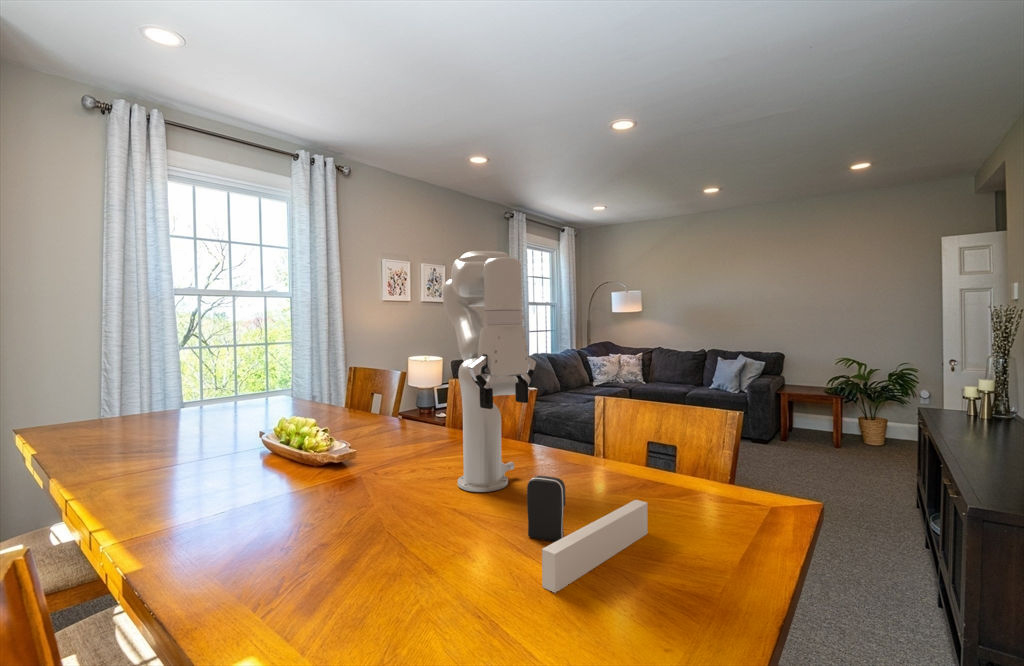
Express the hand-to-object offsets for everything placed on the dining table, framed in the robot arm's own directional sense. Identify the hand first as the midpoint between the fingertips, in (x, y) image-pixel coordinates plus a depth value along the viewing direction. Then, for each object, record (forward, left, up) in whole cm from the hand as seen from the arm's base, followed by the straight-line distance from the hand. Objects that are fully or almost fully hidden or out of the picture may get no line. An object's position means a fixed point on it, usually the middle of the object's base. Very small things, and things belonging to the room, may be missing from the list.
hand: (504, 405), depth 100 cm
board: (-1, +22, -24) cm, 33 cm away
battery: (-1, +10, -24) cm, 26 cm away
